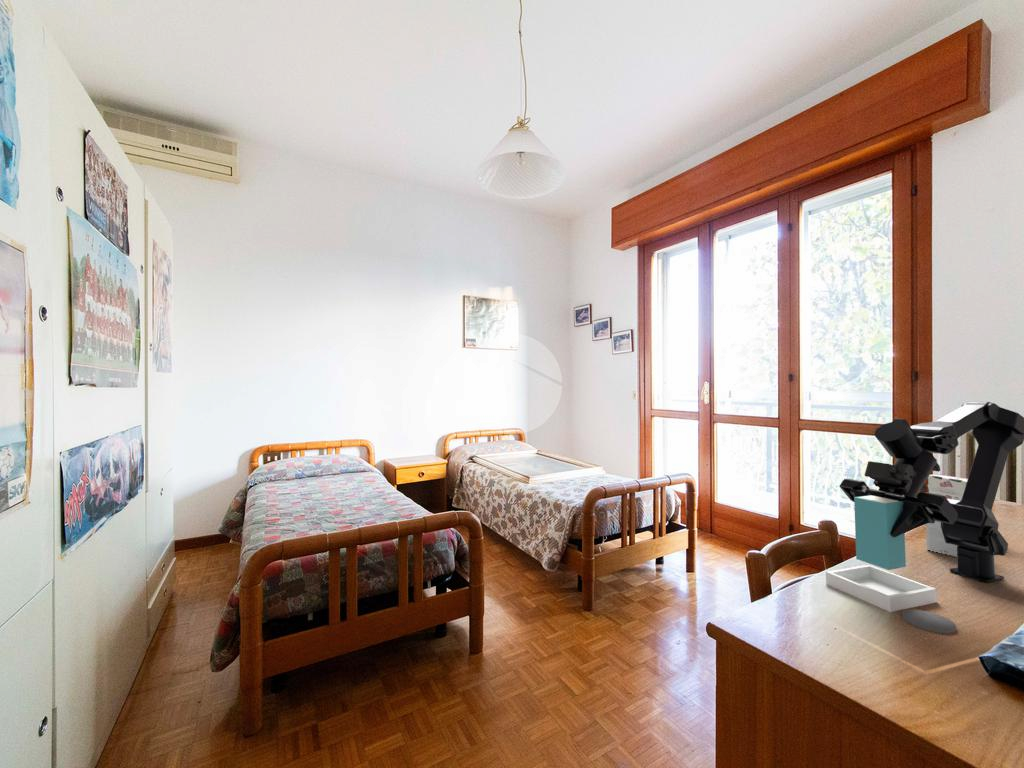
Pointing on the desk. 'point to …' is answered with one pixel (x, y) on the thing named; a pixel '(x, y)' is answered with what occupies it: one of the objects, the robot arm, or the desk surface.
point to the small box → (939, 538)
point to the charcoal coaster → (929, 621)
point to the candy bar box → (947, 486)
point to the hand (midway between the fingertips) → (874, 530)
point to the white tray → (881, 587)
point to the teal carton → (878, 532)
